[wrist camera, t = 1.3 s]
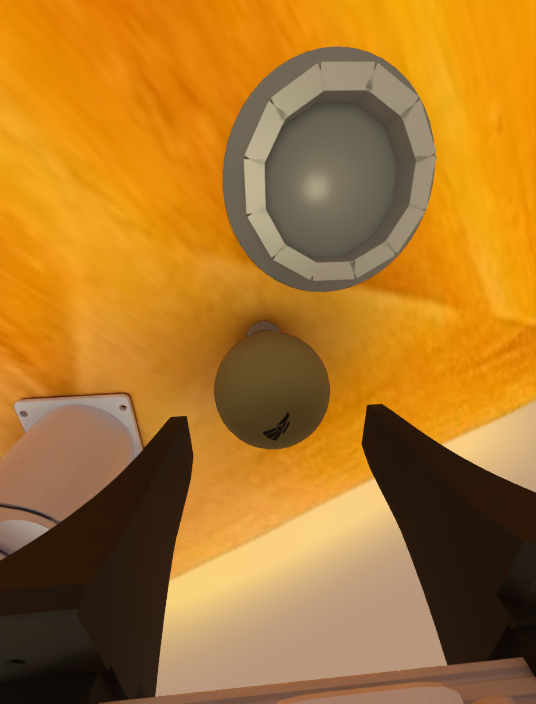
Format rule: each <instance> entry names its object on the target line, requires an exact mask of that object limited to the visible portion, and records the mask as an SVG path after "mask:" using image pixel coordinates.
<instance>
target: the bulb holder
mask: <svg viewBox="0 0 536 704" xmlns="http://www.w3.org/2000/svg"><path fill="white" fill-rule="evenodd" d="M435 152H436V150H435V146H434V140H433V134H432V130H431V125H430V121H429V118H428V116H427V113H426V110H425V107H424V105H423V103H422V101H421V100H420V98H419V96H418V94H417V92H416V91H415V89H414V88H413V87H412V85H411V84H410V83H409V81H408V80H407V79H406V78H405V77H404V76H403V75H402V74H401V73H400V72H399V71H398V70H397V69H396V68H395V67H394V66H392V65H391V64H389V63H388V62H387V61H385V60H384V59H382V58H380V57H378V56H376V55H374V54H372V53H369V52H366V51H363V50H359V49H355V48H348V47H327V48H320V49H316V50H312V51H308V52H305V53H303V54H300V55H298V56H296V57H294V58H291V59H290V60H288V61H286V62H285V63H283V64H282V65H280V66H279V67H277V68H276V69H275V70H274V71H272V72H271V73H270V74H269V75H268V76H267V77H266V78H264V79H263V80H262V81H261V83H260V84H259V85H258V86H257V87H256V88H255V90H254V91H253V92H252V93H251V95H250V96H249V98H248V99H247V101H246V102H245V104H244V105H243V107H242V108H241V111H240V113H239V115H238V117H237V119H236V121H235V123H234V125H233V128H232V131H231V134H230V137H229V140H228V144H227V149H226V153H225V159H224V169H223V191H224V198H225V205H226V209H227V213H228V217H229V221H230V223H231V226H232V228H233V231H234V234H235V235H236V237H237V239H238V241H239V243H240V245H241V246H242V248H243V249H244V251H245V252H246V253H247V255H248V256H249V258H250V259H251V260H252V261H253V262H254V263H255V264H256V265H257V266H258V267H259V268H260V269H261V270H263V271H264V272H265V273H266V274H267V275H269V276H270V277H272V278H274V279H275V280H277V281H279V282H281V283H283V284H285V285H287V286H290V287H293V288H297V289H300V290H306V291H312V292H327V291H336V290H340V289H345V288H349V287H351V286H354V285H357V284H359V283H361V282H363V281H365V280H367V279H369V278H371V277H372V276H374V275H375V274H377V273H378V272H380V271H381V270H383V269H384V268H385V267H386V266H387V265H389V264H390V263H391V262H392V261H393V260H394V259H395V258H396V257H397V256H398V255H399V254H400V253H401V252H402V250H403V249H404V248H405V246H406V245H407V244H408V242H409V241H410V240H411V238H412V236H413V235H414V233H415V231H416V230H417V228H418V226H419V224H420V222H421V220H422V218H423V215H424V213H425V210H426V209H427V205H428V202H429V198H430V194H431V190H432V185H433V178H434V170H435V160H436V156H435Z"/></svg>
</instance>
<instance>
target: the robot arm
mask: <svg viewBox="0 0 536 704" xmlns="http://www.w3.org/2000/svg"><path fill="white" fill-rule="evenodd" d="M122 405H125V406H126V407H127V408H124V407H122ZM14 408H15V411H16V413H17V415H18V417H19V419H20V422H21V424H22V426H23V428H24V430H25V434H24V435H23V436H22V437H21V438H20V439H19V440H18V441H17V442H16V443H15V444H14V445H13V446H12V447H11V448H10V449H9V451H8V452H7V453H6V454H5V455H4V456H3V457H2V458H1V459H0V704H536V493H535V492H533V491H531V490H528V489H526V488H523V487H521V486H519V485H517V484H514V483H512V482H510V481H508V480H506V479H504V478H501V477H499V476H497V475H495V474H493V473H491V472H489V471H487V470H484V469H483V468H481V467H479V466H477V465H475V464H473V463H472V462H470V461H468V460H466V459H464V458H462V457H461V456H459V455H457V454H455V453H454V452H452V451H450V450H449V449H447V448H446V447H444V446H442V445H441V444H439V443H438V442H436V441H434V440H433V439H431V438H430V437H428V436H427V435H425V434H424V433H422V432H421V431H420V430H418V429H417V428H415V427H414V426H412V425H411V424H410V423H408V422H407V421H405V420H404V419H403V418H401V417H400V416H399V415H397V414H396V413H394V412H393V411H392V410H390V409H389V408H387V407H386V406H384V405H383V404H375V405H367V410H366V417H365V424H364V431H363V439H362V447H363V450H364V453H365V456H366V459H367V461H368V464H369V467H370V469H371V471H372V473H373V475H374V477H375V479H376V481H377V483H378V486H379V487H380V489H381V491H382V493H383V495H384V497H385V499H386V501H387V503H388V505H389V507H390V509H391V511H392V513H393V515H394V517H395V519H396V521H397V524H398V526H399V528H400V530H401V532H402V535H403V537H404V540H405V543H406V545H407V548H408V551H409V553H410V555H411V558H412V561H413V564H414V566H415V569H416V572H417V575H418V577H419V580H420V583H421V586H422V588H423V591H424V594H425V597H426V600H427V603H428V606H429V609H430V612H431V615H432V618H433V621H434V624H435V627H436V630H437V633H438V637H439V640H440V643H441V646H442V650H443V652H444V656H445V659H446V662H447V666H437V667H428V668H419V669H410V670H400V671H391V672H382V673H372V674H364V675H355V676H345V677H336V678H327V679H318V680H308V681H298V682H289V683H280V684H271V685H262V686H252V687H244V688H234V689H225V690H216V691H206V692H197V693H188V694H179V695H169V696H159V697H155V693H156V684H157V674H158V665H159V656H160V647H161V639H162V631H163V622H164V614H165V606H166V600H167V592H168V585H169V578H170V572H171V565H172V558H173V552H174V547H175V542H176V537H177V533H178V529H179V525H180V521H181V517H182V513H183V509H184V505H185V501H186V497H187V493H188V489H189V484H190V480H191V472H192V464H193V451H192V445H191V439H190V433H189V427H188V421H187V416H180V417H171V418H170V419H169V420H168V421H167V422H166V423H165V424H164V426H163V427H162V428H161V429H160V430H159V432H158V433H157V434H156V435H155V436H154V437H153V439H152V440H151V441H150V442H149V443H148V444H147V445H146V447H145V448H144V449H143V447H142V443H141V440H140V436H139V432H138V428H137V424H136V420H135V416H134V412H133V408H132V405H131V401H130V398H129V397H128V396H127V395H125V394H109V395H92V396H75V397H57V398H40V399H22V400H19V401H17V402H16V403H15V404H14ZM24 411H25V412H27V413H25V412H24Z"/></svg>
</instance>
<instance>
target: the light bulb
mask: <svg viewBox="0 0 536 704" xmlns="http://www.w3.org/2000/svg"><path fill="white" fill-rule="evenodd" d="M214 395H215V401H216V406H217V410H218V412H219V414H220V417H221V419H222V421H223V422H224V424H225V425H226V426H227V428H228V429H229V430H230V431H231V432H232V433H233V434H234V435H235V436H237V437H238V438H239V439H240V440H242V441H243V442H245V443H247V444H249V445H252V446H255V447H258V448H264V449H282V448H287V447H290V446H293V445H295V444H297V443H299V442H301V441H303V440H304V439H306V438H307V437H309V436H310V435H311V434H312V433H313V432H314V431H315V430H316V428H317V427H318V426H319V424H320V423H321V421H322V419H323V418H324V415H325V413H326V411H327V407H328V403H329V396H330V385H329V379H328V375H327V371H326V369H325V367H324V365H323V363H322V361H321V359H320V357H319V356H318V355H317V354H316V352H315V351H314V350H313V349H312V348H311V347H310V346H308V345H307V344H306V343H305V342H303V341H302V340H300V339H298V338H297V337H294V336H292V335H289V334H286V333H281V332H280V330H279V328H278V327H277V326H276V325H274V324H273V323H270V322H267V321H260V322H257V323H255V324H254V325H252V326H251V327H250V328H249V330H248V331H247V334H246V338H245V339H244V340H242V341H240V342H239V343H237V344H236V345H235V346H234V347H232V349H231V350H230V351H229V352H228V353H227V355H226V356H225V357H224V359H223V361H222V362H221V364H220V366H219V368H218V372H217V375H216V379H215V386H214Z"/></svg>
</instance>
